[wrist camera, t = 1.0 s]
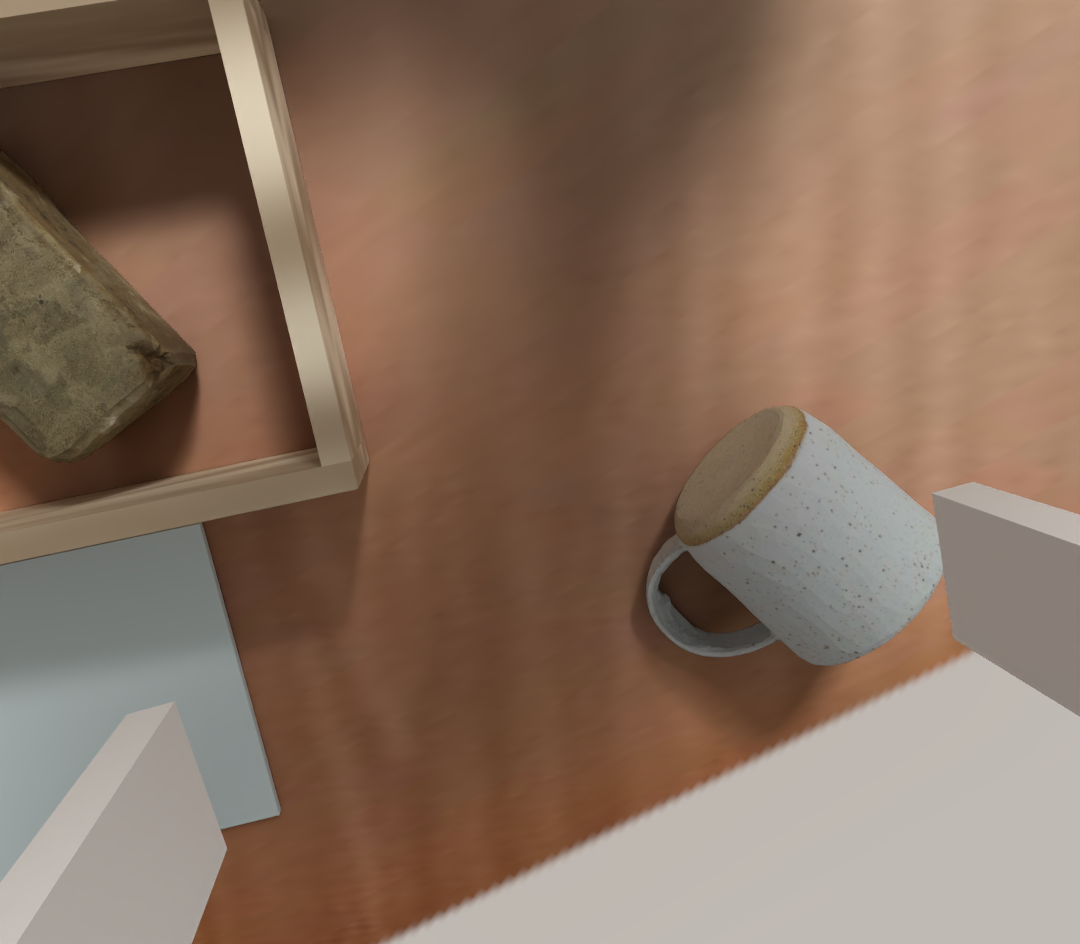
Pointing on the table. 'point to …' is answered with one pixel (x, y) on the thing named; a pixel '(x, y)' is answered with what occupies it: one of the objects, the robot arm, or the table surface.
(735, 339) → the table surface
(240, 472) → the slotted box
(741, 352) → the table surface
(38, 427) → the stone block
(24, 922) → the robot arm
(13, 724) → the mat
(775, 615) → the ceramic mug
